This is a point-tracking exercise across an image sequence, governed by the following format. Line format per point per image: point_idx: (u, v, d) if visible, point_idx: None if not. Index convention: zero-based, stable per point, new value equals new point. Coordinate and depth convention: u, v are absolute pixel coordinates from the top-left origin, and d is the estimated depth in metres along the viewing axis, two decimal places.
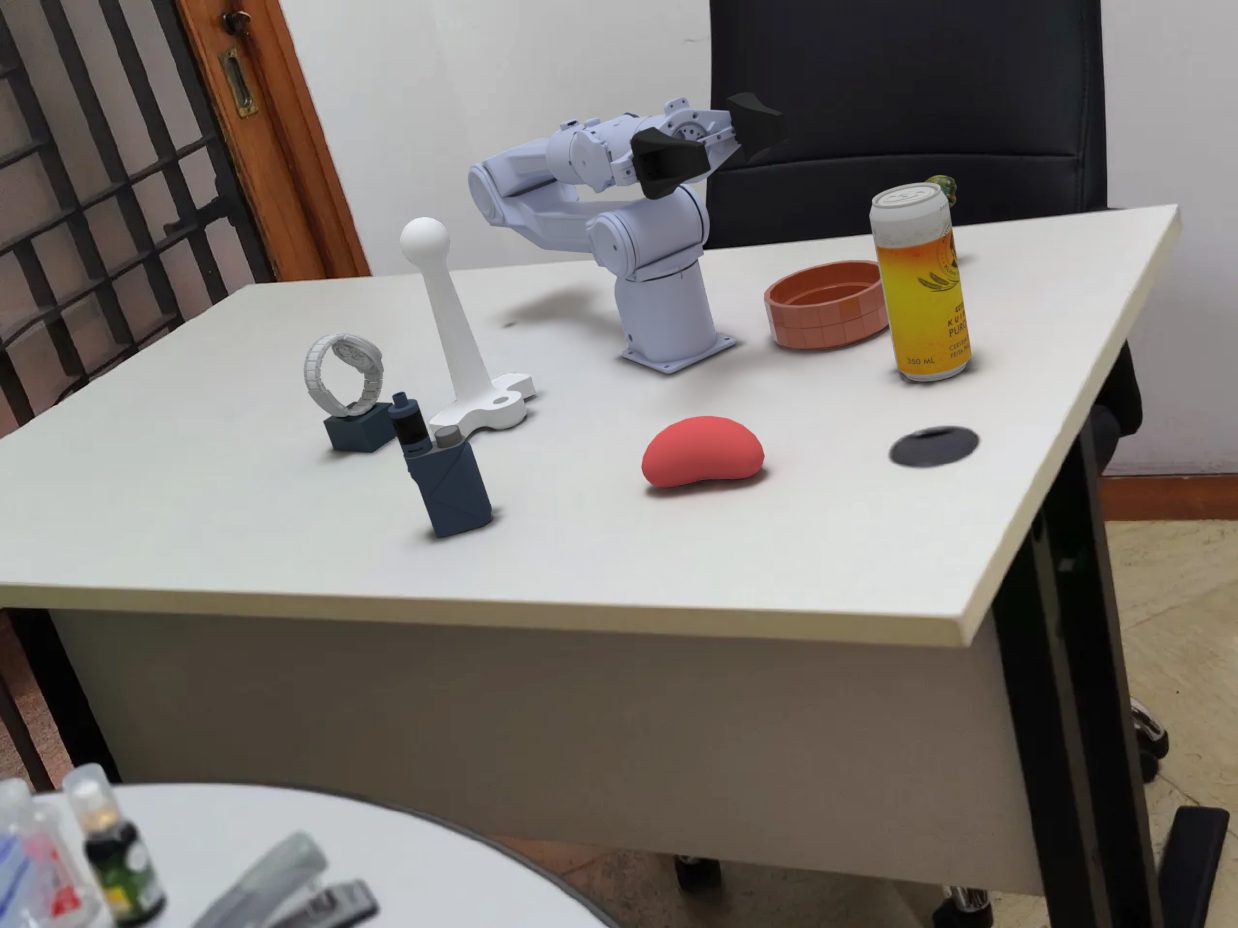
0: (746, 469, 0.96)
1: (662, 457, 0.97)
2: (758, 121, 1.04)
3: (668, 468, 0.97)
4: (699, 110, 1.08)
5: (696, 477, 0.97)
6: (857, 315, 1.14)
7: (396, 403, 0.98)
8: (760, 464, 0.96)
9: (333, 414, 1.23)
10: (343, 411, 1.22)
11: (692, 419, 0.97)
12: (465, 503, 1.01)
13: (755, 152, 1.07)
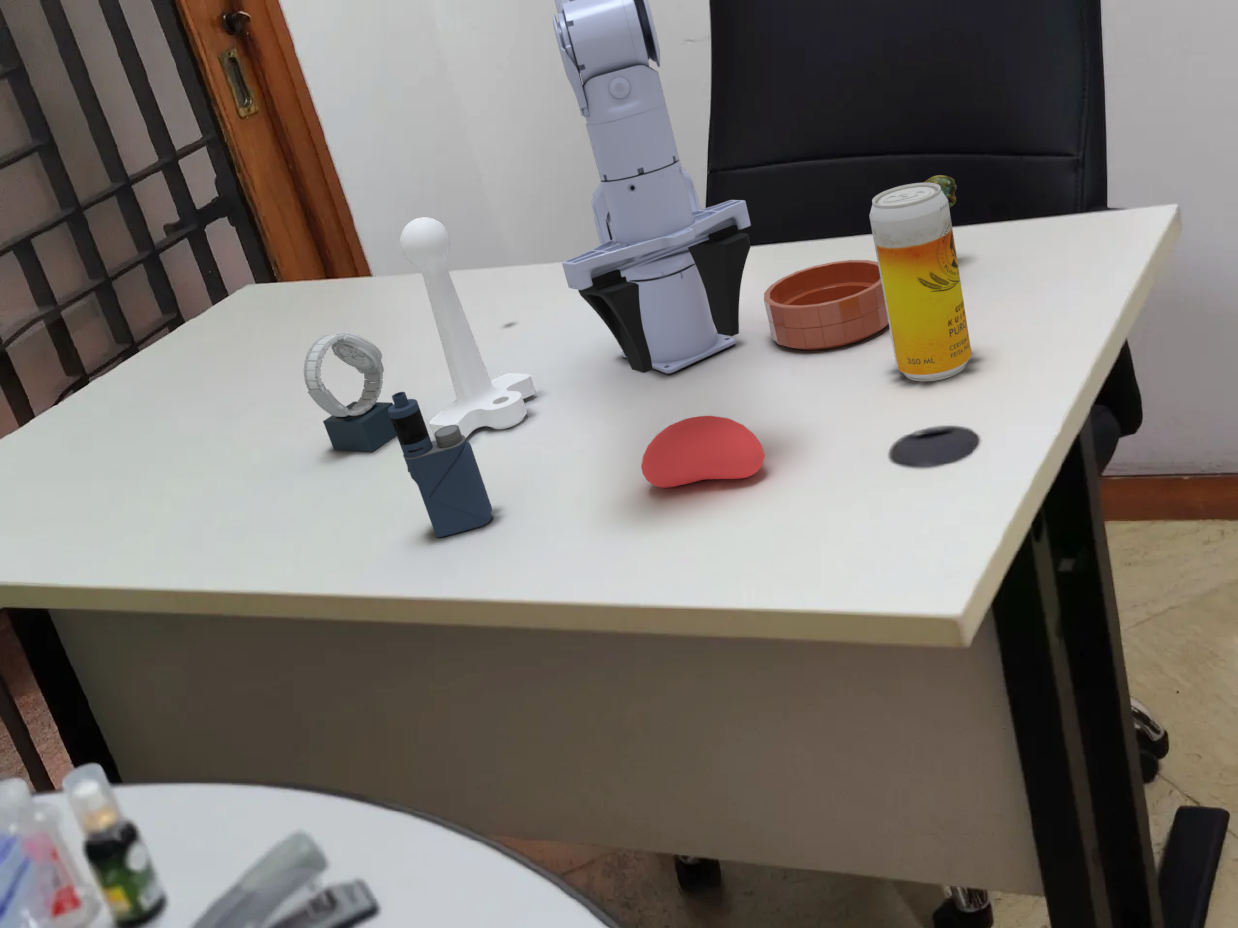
0: (746, 470, 0.96)
1: (662, 457, 0.97)
2: (722, 295, 0.95)
3: (668, 468, 0.97)
4: (696, 234, 0.91)
5: (696, 477, 0.97)
6: (857, 315, 1.14)
7: (396, 403, 0.98)
8: (760, 464, 0.96)
9: (333, 414, 1.23)
10: (343, 411, 1.22)
11: (692, 419, 0.97)
12: (465, 503, 1.01)
13: (699, 271, 0.96)
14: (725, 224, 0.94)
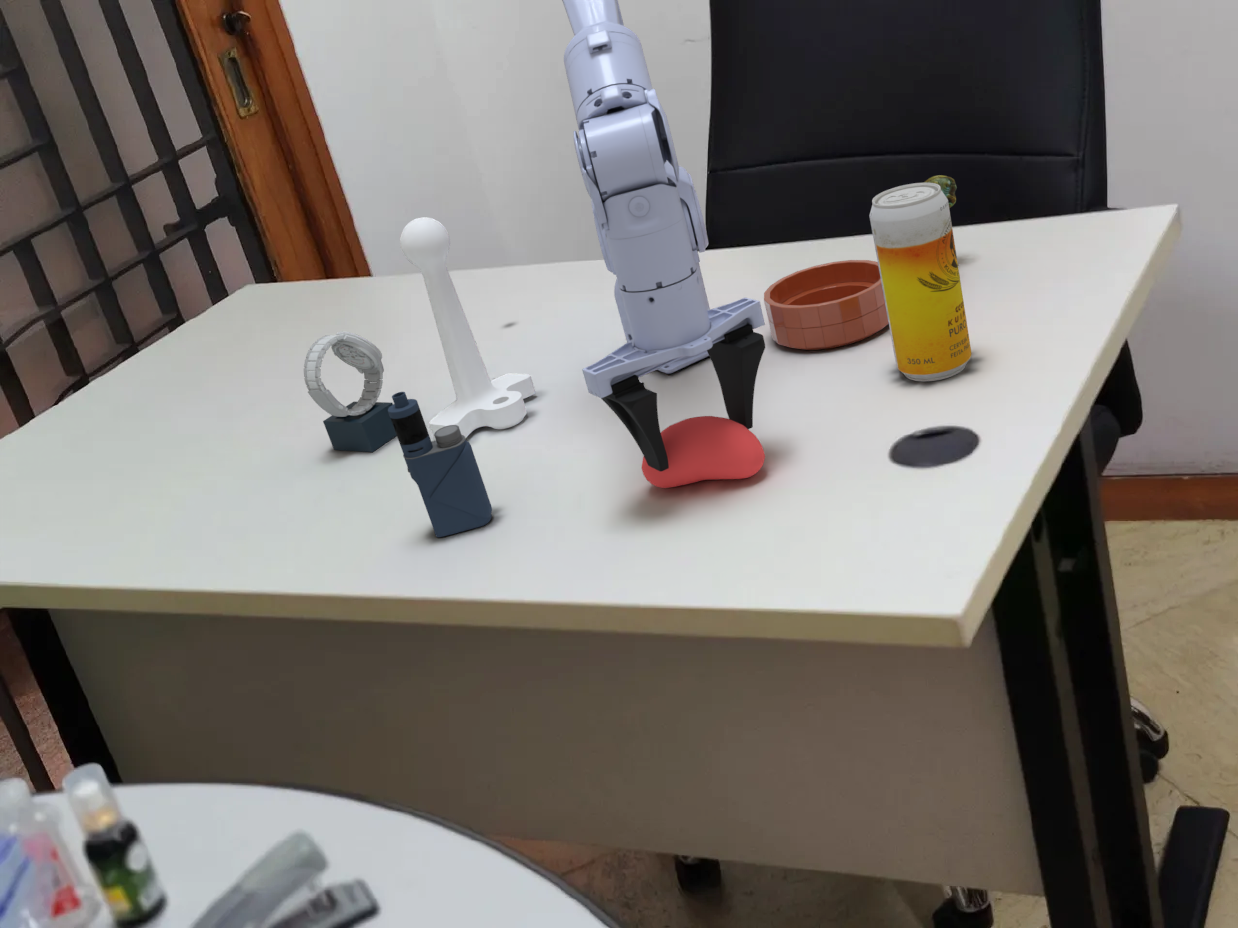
0: (746, 470, 0.96)
1: None
2: (736, 392, 0.97)
3: (668, 468, 0.97)
4: (713, 340, 0.93)
5: (696, 477, 0.97)
6: (857, 315, 1.14)
7: (396, 403, 0.98)
8: (760, 464, 0.96)
9: (333, 414, 1.23)
10: (343, 411, 1.22)
11: (692, 419, 0.97)
12: (465, 503, 1.01)
13: (714, 365, 0.99)
14: (740, 323, 0.96)
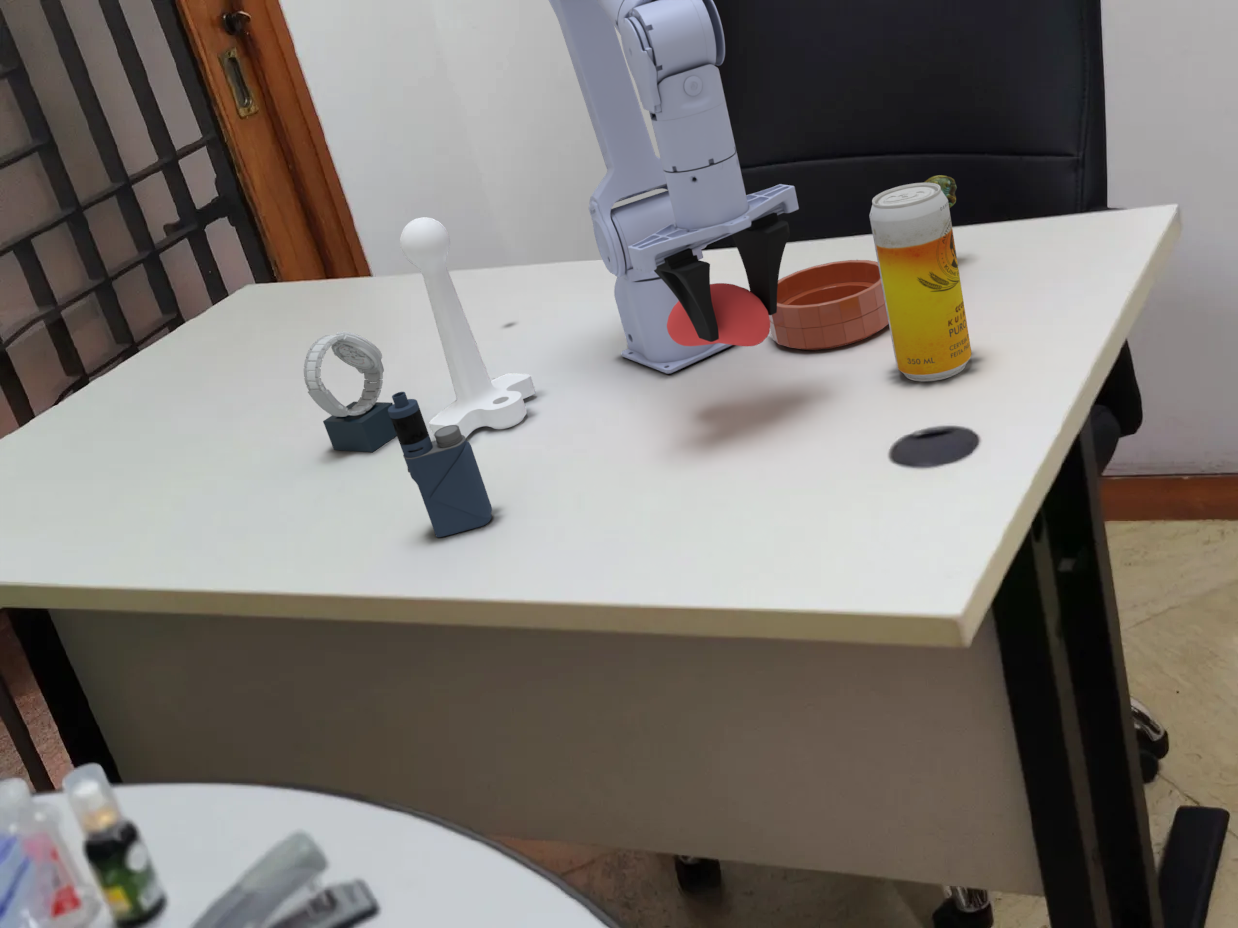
0: (745, 339, 1.02)
1: (678, 318, 1.05)
2: (762, 278, 1.03)
3: (682, 329, 1.05)
4: (751, 220, 0.99)
5: None
6: (857, 315, 1.14)
7: (396, 403, 0.98)
8: (761, 335, 1.02)
9: (333, 414, 1.23)
10: (343, 411, 1.22)
11: (711, 285, 1.04)
12: (465, 503, 1.01)
13: (740, 254, 1.04)
14: (775, 208, 1.02)
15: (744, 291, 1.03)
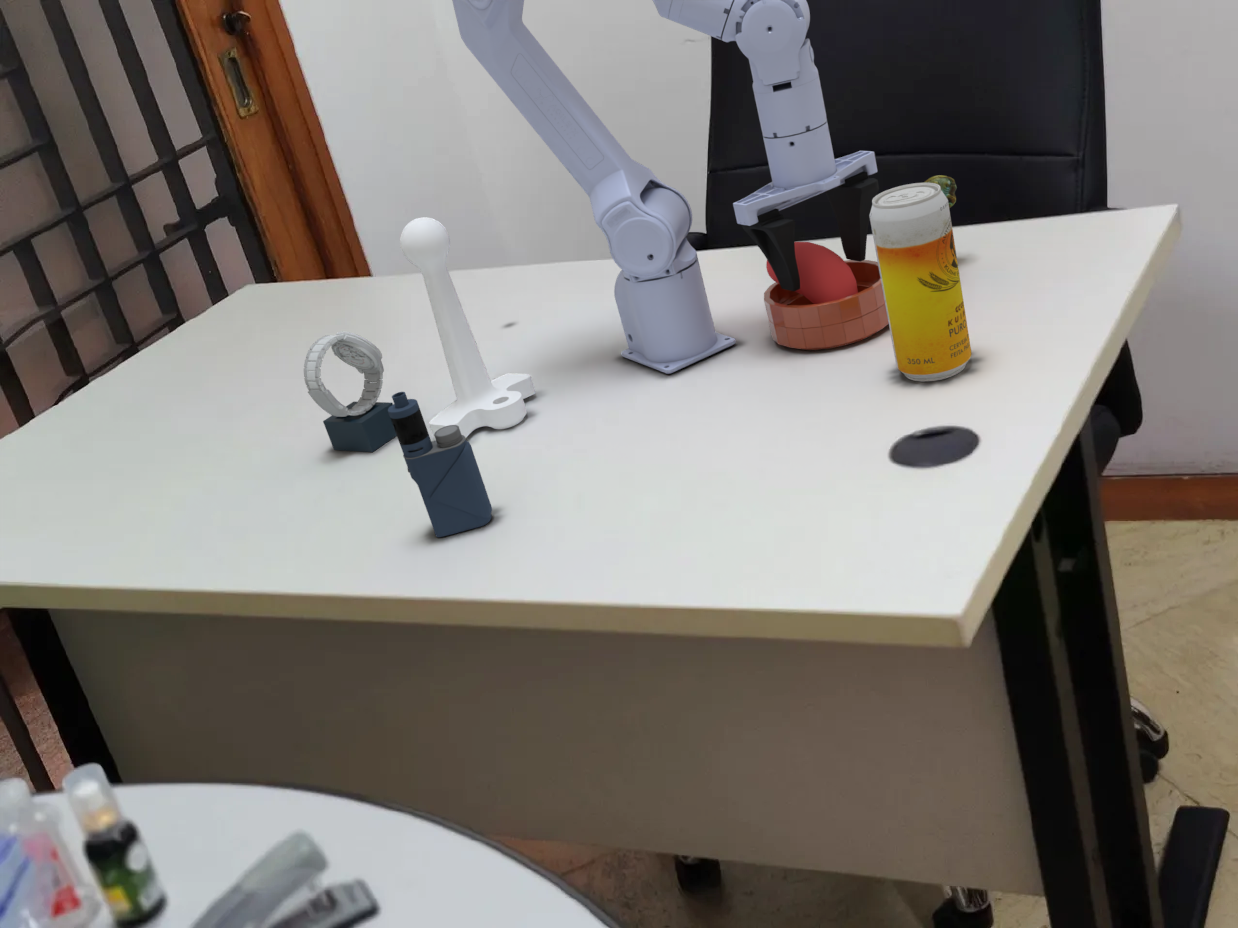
0: None
1: None
2: (853, 228, 1.18)
3: None
4: None
5: (798, 291, 1.20)
6: (857, 315, 1.14)
7: (396, 403, 0.98)
8: None
9: (333, 414, 1.23)
10: (343, 411, 1.22)
11: (824, 251, 1.18)
12: (465, 503, 1.01)
13: (833, 208, 1.20)
14: (857, 171, 1.17)
15: (849, 272, 1.18)
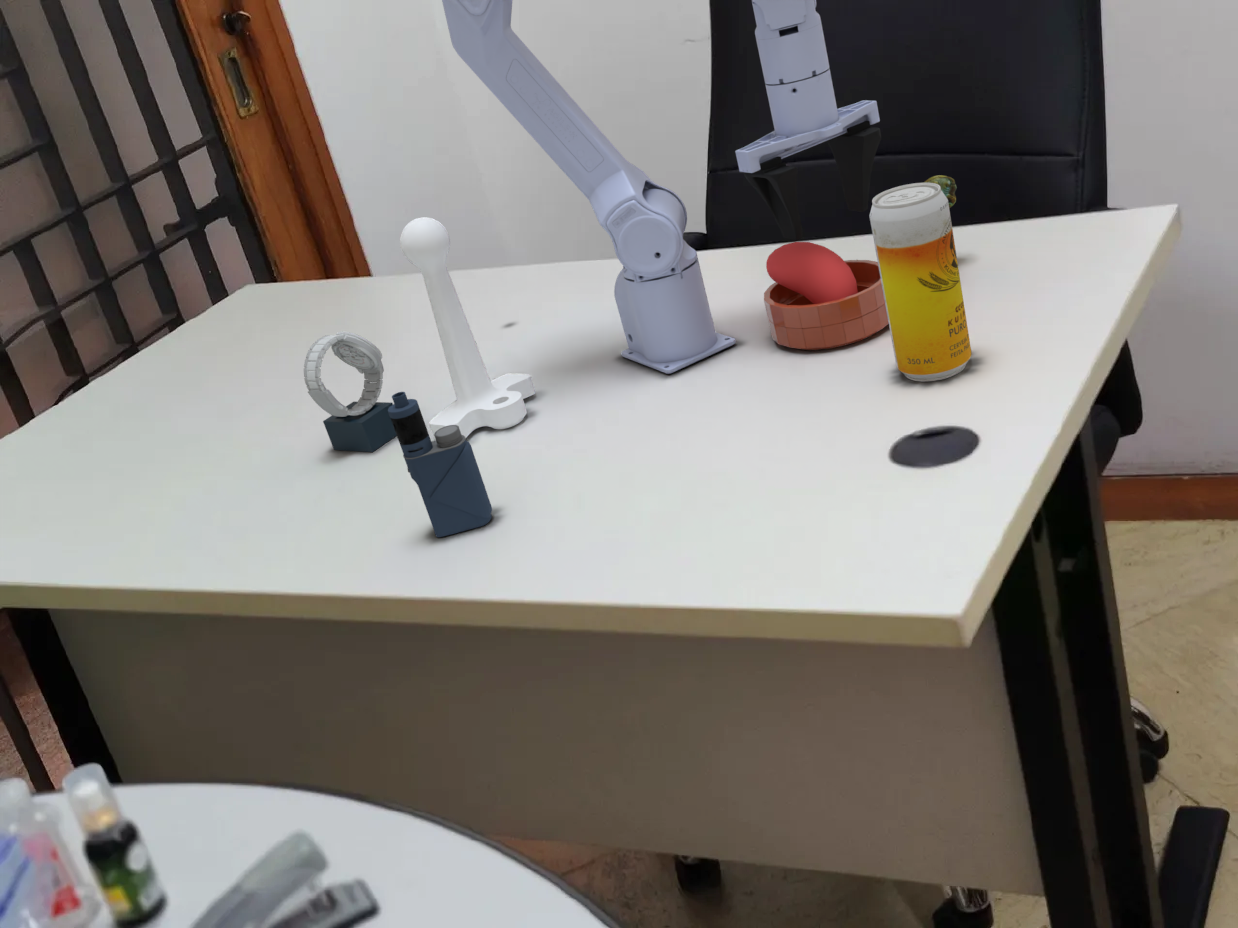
0: None
1: (785, 263, 1.19)
2: (855, 178, 1.18)
3: (783, 273, 1.19)
4: None
5: (798, 291, 1.20)
6: (857, 315, 1.14)
7: (396, 403, 0.98)
8: None
9: (333, 414, 1.23)
10: (343, 411, 1.22)
11: (824, 251, 1.18)
12: (465, 503, 1.01)
13: (835, 159, 1.19)
14: (859, 120, 1.17)
15: (849, 272, 1.18)
